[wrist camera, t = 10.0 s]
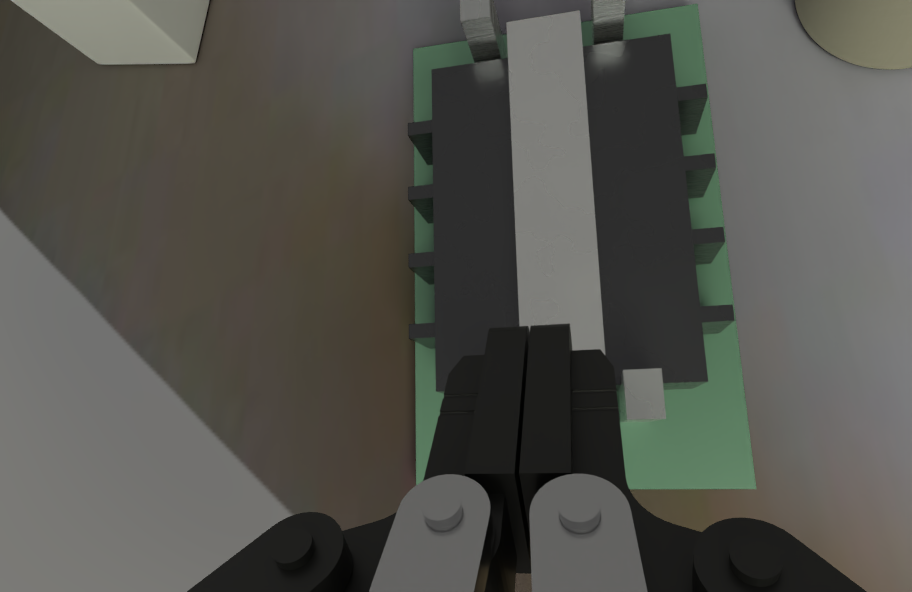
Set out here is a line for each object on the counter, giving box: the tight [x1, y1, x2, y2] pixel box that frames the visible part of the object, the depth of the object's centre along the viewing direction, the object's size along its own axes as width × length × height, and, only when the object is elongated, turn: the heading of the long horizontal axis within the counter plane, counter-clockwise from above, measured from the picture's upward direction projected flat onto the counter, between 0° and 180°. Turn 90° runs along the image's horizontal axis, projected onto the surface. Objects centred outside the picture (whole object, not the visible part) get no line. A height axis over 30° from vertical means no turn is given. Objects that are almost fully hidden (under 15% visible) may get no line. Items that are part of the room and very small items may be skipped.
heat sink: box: [408, 0, 735, 422], centre depth 25 cm, size 17×12×7 cm
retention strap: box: [506, 10, 605, 355], centre depth 24 cm, size 16×3×1 cm, turn 2°
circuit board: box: [413, 4, 756, 489], centre depth 29 cm, size 22×14×1 cm, turn 2°
